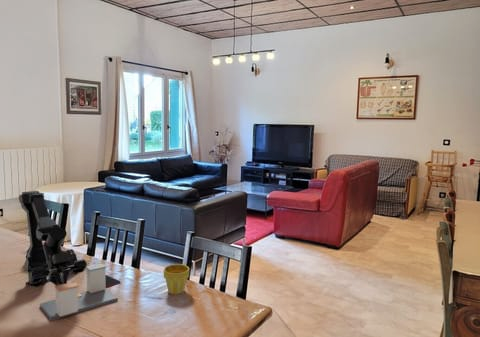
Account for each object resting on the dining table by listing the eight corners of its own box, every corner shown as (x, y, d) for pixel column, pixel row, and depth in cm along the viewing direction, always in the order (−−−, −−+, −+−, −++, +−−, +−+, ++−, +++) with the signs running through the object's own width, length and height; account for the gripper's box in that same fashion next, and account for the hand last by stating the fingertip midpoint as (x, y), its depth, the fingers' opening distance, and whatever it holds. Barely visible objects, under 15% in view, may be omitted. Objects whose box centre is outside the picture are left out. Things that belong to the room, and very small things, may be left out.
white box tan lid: (55, 312, 132) (54, 286, 131) (74, 306, 136) (73, 281, 135) (59, 317, 129) (59, 290, 128) (78, 311, 133) (78, 285, 132)
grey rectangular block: (86, 289, 150) (85, 266, 149) (101, 285, 155) (101, 263, 154) (90, 293, 147) (90, 270, 146) (106, 289, 152) (106, 266, 151)
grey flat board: (40, 306, 138) (40, 302, 138) (103, 289, 155) (103, 285, 155) (51, 320, 129) (51, 316, 129) (117, 300, 145) (117, 296, 145)
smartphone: (101, 272, 171) (121, 281, 162) (101, 274, 171) (121, 283, 162) (86, 277, 165) (106, 286, 156) (86, 279, 165) (106, 288, 156)
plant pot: (182, 298, 149) (182, 274, 148) (158, 294, 152) (159, 271, 151) (192, 288, 159) (193, 265, 158) (170, 284, 162) (171, 262, 161)
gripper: (30, 247, 129) (40, 289, 122) (84, 238, 142) (96, 275, 135) (24, 263, 136) (34, 303, 129) (77, 253, 148) (88, 289, 142)
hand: (64, 292), depth 133 cm, fingers closed, pressing on white box tan lid
